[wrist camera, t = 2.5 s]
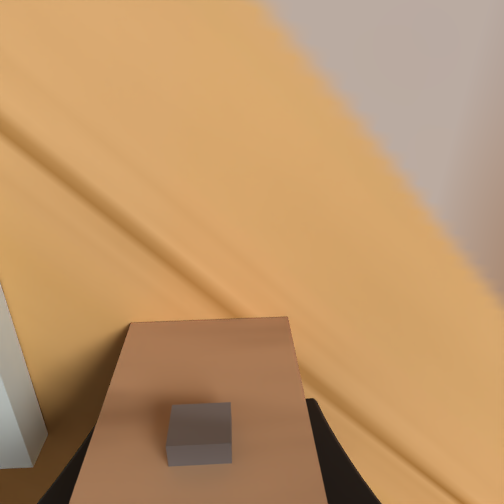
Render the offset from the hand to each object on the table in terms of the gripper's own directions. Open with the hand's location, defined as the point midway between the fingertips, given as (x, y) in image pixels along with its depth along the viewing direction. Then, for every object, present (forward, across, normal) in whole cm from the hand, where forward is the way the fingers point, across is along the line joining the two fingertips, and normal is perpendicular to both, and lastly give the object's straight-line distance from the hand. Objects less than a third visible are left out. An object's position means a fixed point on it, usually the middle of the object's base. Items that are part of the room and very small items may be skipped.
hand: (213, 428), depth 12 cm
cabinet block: (+1, 0, 0) cm, 1 cm away
